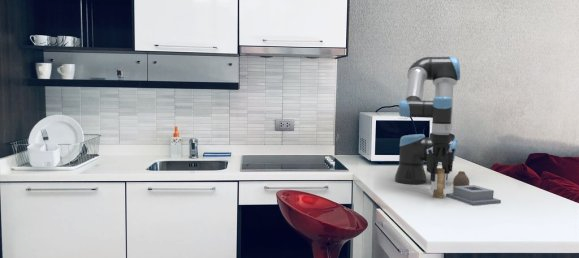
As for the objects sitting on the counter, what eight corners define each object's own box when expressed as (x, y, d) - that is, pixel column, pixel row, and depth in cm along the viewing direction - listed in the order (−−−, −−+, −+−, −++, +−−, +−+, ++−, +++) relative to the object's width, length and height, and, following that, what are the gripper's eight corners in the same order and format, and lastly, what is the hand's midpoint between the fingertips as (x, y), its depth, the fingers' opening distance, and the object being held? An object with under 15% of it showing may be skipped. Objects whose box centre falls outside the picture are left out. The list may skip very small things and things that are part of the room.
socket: (445, 196, 191) (446, 185, 191) (472, 194, 196) (472, 183, 196) (473, 205, 176) (473, 193, 176) (500, 203, 181) (501, 191, 181)
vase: (449, 189, 205) (450, 170, 204) (461, 188, 207) (462, 170, 206) (460, 193, 198) (461, 173, 198) (472, 192, 201) (473, 172, 200)
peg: (431, 196, 191) (432, 168, 190) (438, 195, 193) (440, 167, 191) (437, 198, 187) (438, 169, 186) (445, 197, 189) (446, 169, 188)
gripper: (429, 134, 181) (427, 191, 183) (463, 134, 187) (460, 189, 189) (418, 133, 188) (416, 187, 190) (451, 132, 194) (448, 185, 196)
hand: (438, 188), depth 190 cm, fingers closed on peg, 4 cm apart
